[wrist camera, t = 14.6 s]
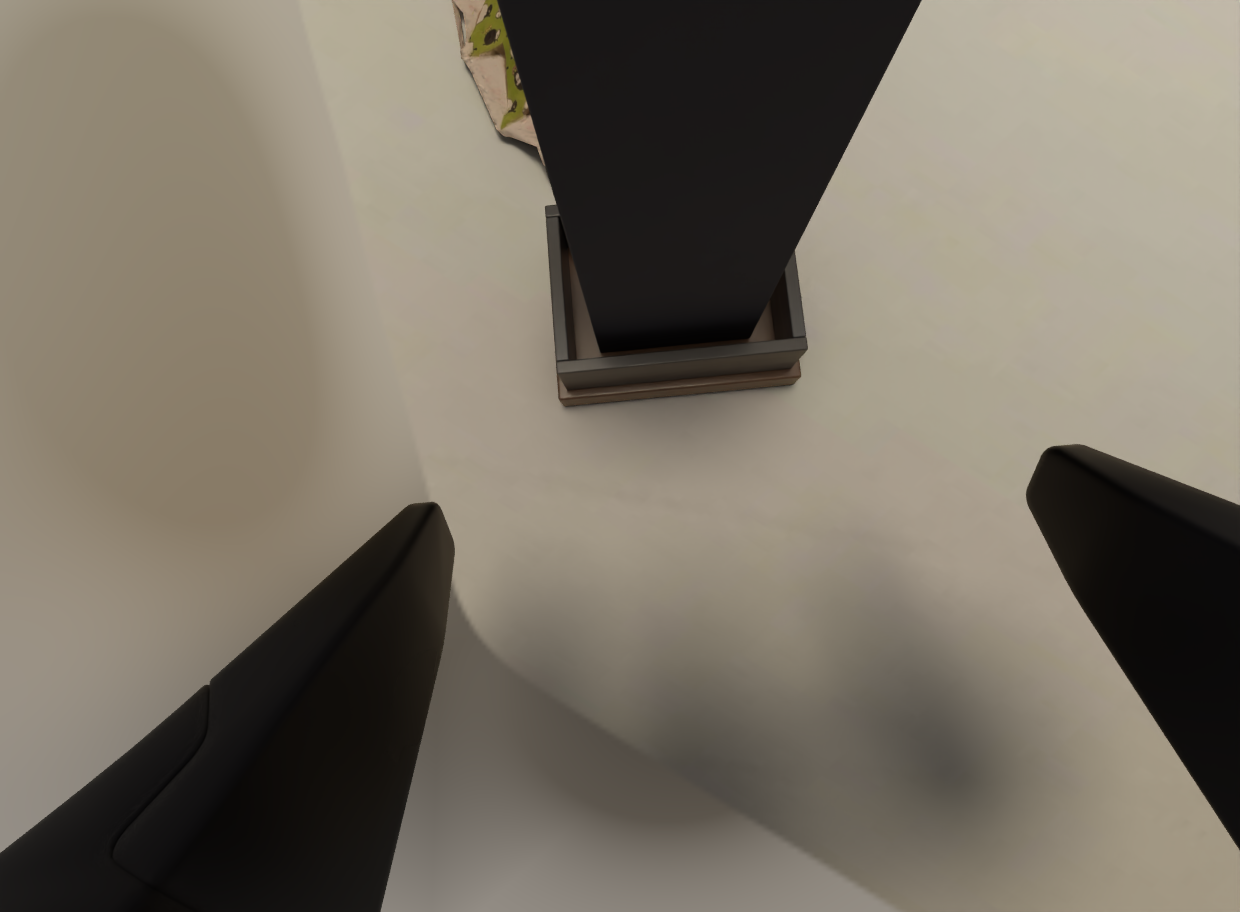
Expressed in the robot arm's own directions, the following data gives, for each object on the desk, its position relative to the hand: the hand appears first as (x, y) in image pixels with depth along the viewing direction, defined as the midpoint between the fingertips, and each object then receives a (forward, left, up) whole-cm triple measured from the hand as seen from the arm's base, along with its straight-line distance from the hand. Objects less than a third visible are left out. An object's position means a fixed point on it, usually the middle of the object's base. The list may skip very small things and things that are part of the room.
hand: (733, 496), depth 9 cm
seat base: (+7, +1, -10) cm, 13 cm away
